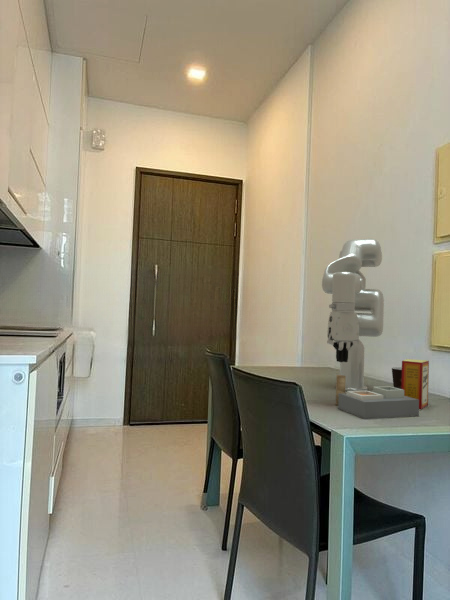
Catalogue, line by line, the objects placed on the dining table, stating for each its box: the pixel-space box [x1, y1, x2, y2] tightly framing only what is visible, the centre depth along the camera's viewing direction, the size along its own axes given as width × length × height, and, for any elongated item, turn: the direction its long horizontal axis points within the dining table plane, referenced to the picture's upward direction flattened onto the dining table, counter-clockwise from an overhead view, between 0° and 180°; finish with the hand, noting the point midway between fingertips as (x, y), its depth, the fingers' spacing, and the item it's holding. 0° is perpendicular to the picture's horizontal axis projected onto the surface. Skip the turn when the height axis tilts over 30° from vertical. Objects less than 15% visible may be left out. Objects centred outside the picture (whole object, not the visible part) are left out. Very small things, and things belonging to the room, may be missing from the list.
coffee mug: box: [391, 366, 402, 389], centre depth 177 cm, size 12×9×10 cm
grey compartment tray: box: [337, 385, 420, 420], centre depth 143 cm, size 14×20×8 cm
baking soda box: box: [401, 358, 430, 410], centre depth 155 cm, size 10×6×16 cm
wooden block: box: [335, 374, 346, 406], centre depth 153 cm, size 3×3×10 cm
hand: (341, 361), depth 153 cm, fingers closed
